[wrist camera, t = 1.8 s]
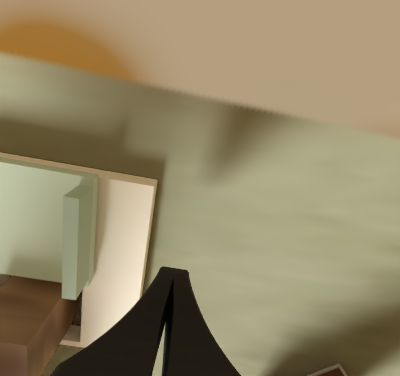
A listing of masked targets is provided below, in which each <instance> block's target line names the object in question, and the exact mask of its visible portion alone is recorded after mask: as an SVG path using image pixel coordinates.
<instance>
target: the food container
mask: <svg viewBox="0 0 400 376" xmlns="http://www.w3.org/2000/svg"><path fill="white" fill-rule="evenodd" d="M306 376H348V375H347V374H346V372H345V371H344V369H343V368H342V366H341V365H340V363H338V364H336V365H333V366H330V367H328V368H325V369H322V370H320V371H317V372H314V373H312V374H309V375H306Z"/></svg>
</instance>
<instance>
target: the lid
mask: <svg viewBox="0 0 400 376" xmlns="http://www.w3.org/2000/svg"><path fill="white" fill-rule="evenodd" d="M98 185H99V174H95V173H89V172H84V171H78V170H72V169H66V168H61V167H55V166H49V165H43V164H38V163H32V162H26V161H20V160H15V159H9V158H3V157H0V274H7V275H13V276H20V277H27V278H33V279H40V280H47V281H54V282H60V283H62V298H63V299H70V300H76V299H77V298H78V296H79V294H80V293H81V291H82V289H83V288H84V286H87V287H88V286H89V284H90V283H91V281H92V279H93V271H94V253H95V236H96V219H97V202H98Z"/></svg>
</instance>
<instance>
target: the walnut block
mask: <svg viewBox="0 0 400 376" xmlns="http://www.w3.org/2000/svg"><path fill="white" fill-rule="evenodd" d="M76 303H77V299H76V300H70V299H63V298H62V283H60V282H54V281H47V280H40V279H33V278H27V277H20V276H12V277H11V278H10V279H9V280H8V281H7V282H6V283H4V284H3V285H2V286H1V287H0V376H41V375H42V373H43V372H44V370H45V368H46V366H47V365H48V363H49V361H50V359H51V358H52V356H53V354H54V353H55V351H56V349H57V347H58V346H59V344H60V342H61V340H62V339H63V337H64V335H65V334H66V332H67V330H68V328H69V327H70V325H71V323H72V321H73V320H74V318H75V316H76Z"/></svg>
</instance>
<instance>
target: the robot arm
mask: <svg viewBox="0 0 400 376" xmlns="http://www.w3.org/2000/svg"><path fill="white" fill-rule="evenodd" d="M165 322H166V323H165ZM164 325H165V338H164V353H163V367H162V376H241V375H240V374H239V373H238V372H237V370H236V369H235V368H234V366H233V365H232V364H231V363H230V361H229V360H228V358H227V357H226V356H225V354H224V353H223V351H222V350H221V348H220V347H219V345H218V344H217V342H216V341H215V339H214V337H213V336H212V334H211V332H210V330H209V328H208V326H207V325H206V323H205V320H204V318H203V316H202V314H201V312H200V309H199V307H198V304H197V302H196V299H195V296H194V293H193V290H192V287H191V283H190V279H189V272H188V271H187V270H182V269H176V268H170V267H161V268H160V270H159V272H158V274H157V276H156V277H155V279H154V280H153V282H152V283H151V285H150V286H149V288H148V289H147V290H146V292H145V293H144V294H143V296H142V297H141V298H140V299H139V300H138V301H137V303H136V304H135V305H134V306H133V307H132V308H131V309H130V310H129V311H128V312H127V313H126V314H125V315H124V316H123V317H122V318H121V319H120V320H119V321H118V322H117V323H116V324H115V325H114V326H113V327H111V328H110V329H109V330H108V331H107V332H105V333H104V334H103V335H102V336H100V337H99V338H98V339H96V340H95V341H94V342H92V343H91V344H90V345H88V346H87V347H86V348H84V349H83V350H81V351H80V352H78V353H76V354H75V355H73V356H72V357H70V358H68V359H67V360H65V361H64V362H62V363H60V364H59V365H58V366H57V368H56V369H55V370H54V371H53V373H52V374H51V375H50V376H152V372H153V367H154V364H155V360H156V356H157V352H158V348H159V344H160V341H161V337H162V333H163V329H164Z"/></svg>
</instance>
